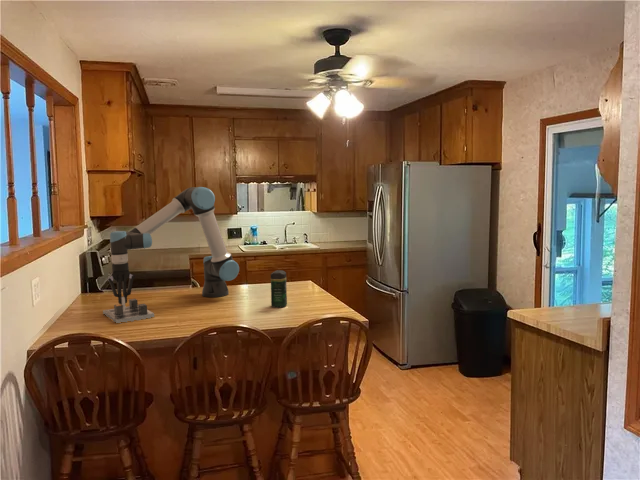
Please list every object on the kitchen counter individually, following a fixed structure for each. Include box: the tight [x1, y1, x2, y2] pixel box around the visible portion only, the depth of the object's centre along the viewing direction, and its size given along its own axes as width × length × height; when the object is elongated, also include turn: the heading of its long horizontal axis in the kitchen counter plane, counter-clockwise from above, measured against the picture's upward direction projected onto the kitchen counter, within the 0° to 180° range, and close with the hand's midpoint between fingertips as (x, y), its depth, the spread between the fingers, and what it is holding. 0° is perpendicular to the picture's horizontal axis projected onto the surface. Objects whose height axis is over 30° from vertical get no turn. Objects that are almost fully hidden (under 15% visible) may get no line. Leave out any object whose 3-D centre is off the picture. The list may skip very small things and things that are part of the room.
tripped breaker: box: [113, 303, 123, 314], centre depth 251 cm, size 4×3×4 cm
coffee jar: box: [270, 269, 288, 309], centre depth 266 cm, size 10×8×19 cm
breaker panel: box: [102, 298, 155, 324], centre depth 254 cm, size 24×18×6 cm
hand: (123, 309), depth 252 cm, fingers closed
